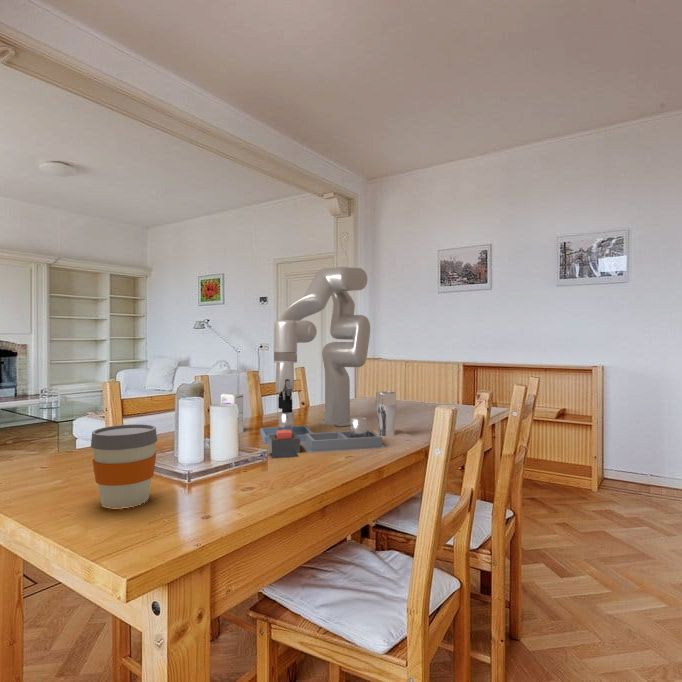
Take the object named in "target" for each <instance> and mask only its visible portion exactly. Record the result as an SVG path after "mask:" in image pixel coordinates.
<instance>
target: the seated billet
mask: <svg viewBox="0 0 682 682" xmlns="http://www.w3.org/2000/svg"><path fill="white" fill-rule="evenodd" d="M367 418H368V417H365V416H352V417H351V416H350V425H349V427H350V430H349V431H350V436H351V438H360V437H367V430H368V419H367Z"/></svg>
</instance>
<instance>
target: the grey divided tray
mask: <svg viewBox="0 0 682 682" xmlns="http://www.w3.org/2000/svg"><path fill="white" fill-rule="evenodd" d="M382 439H383V436H380V435H378V434H377V432H375V431H373V430H371V429H367V437H360V438H351V436H350V430H345V431H328V432H312V433H308V434H305V442H300V446H301V447H302V448H303V449H304V450H305V452H306V453H307V454H310V453H329V452H341V451H342V452H343V451H357V450H370V449H371V450H372V449H373V450H374V449H387V448H388V447H387V446H386V445H385V444H383V442H382V441H383V440H382Z"/></svg>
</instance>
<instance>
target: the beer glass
mask: <svg viewBox="0 0 682 682" xmlns="http://www.w3.org/2000/svg"><path fill="white" fill-rule="evenodd" d="M396 395H397V394H396V392H395V391H391V390H390V391H388V390H387V391H383V390H382V391H376V392H375V415H376V419H377V432H376V434H378V435H379V436H381V437H391V436H392V437H393V436H395V435H396V433H395V419H396V415H397V414H396V413H397V398H396V397H397V396H396Z"/></svg>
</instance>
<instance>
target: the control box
mask: <svg viewBox="0 0 682 682" xmlns="http://www.w3.org/2000/svg"><path fill="white" fill-rule="evenodd" d="M300 443H301V442H300V438H299V437H298V435H297V434H296V433H292V438H284V439H276V434H272V435H269V444H268V449H269V451H270V453H269V455H270V458H271V459H279V458H280V459H281V458H295V456H297V457H299V455H298V454H300V453H301V444H300Z"/></svg>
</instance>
